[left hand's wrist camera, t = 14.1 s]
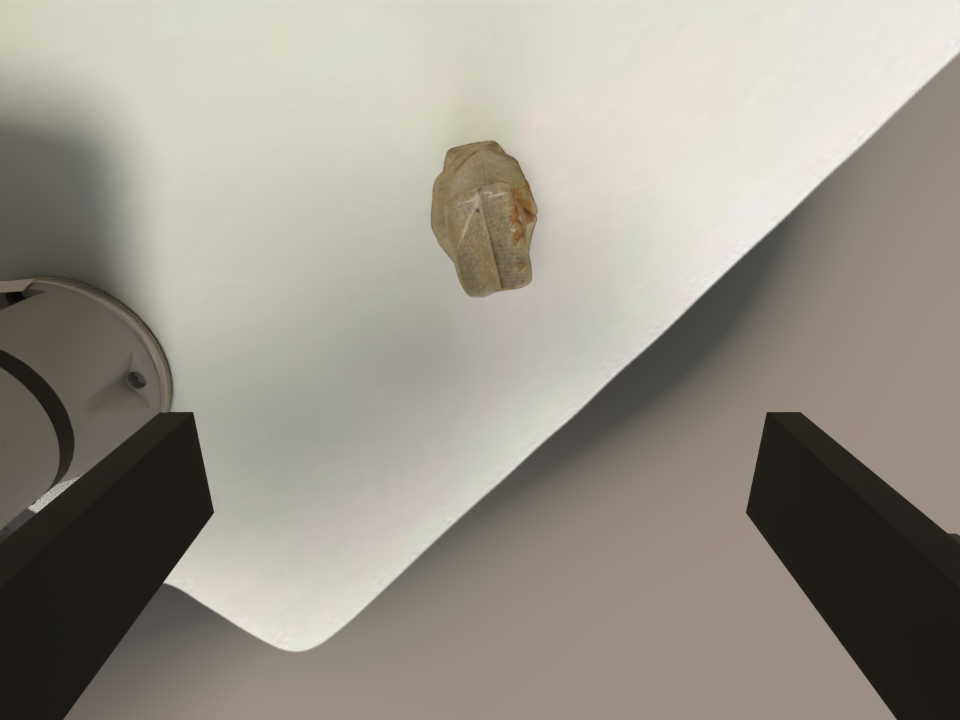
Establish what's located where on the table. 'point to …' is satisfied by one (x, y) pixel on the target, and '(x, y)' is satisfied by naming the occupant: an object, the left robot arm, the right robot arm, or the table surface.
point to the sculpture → (484, 218)
